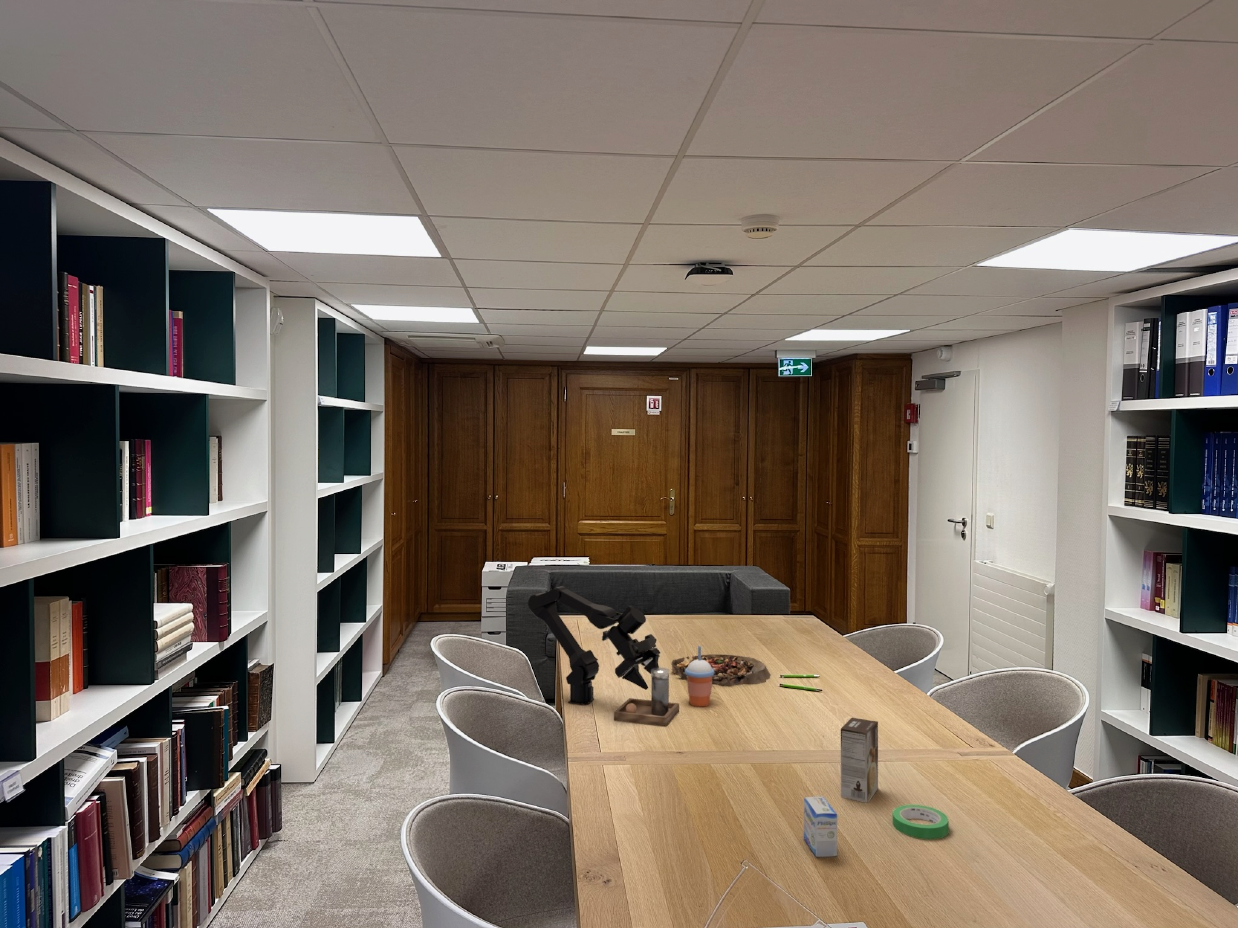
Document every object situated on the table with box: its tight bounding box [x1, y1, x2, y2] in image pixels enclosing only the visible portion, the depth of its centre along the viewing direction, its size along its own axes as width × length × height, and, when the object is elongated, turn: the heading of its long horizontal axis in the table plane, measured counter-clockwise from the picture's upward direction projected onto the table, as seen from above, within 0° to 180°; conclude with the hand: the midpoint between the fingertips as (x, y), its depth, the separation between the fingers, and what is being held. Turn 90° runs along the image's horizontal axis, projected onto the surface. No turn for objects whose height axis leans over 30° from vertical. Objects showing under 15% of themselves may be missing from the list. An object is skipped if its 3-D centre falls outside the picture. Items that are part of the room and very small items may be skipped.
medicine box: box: [803, 796, 838, 858], centre depth 162 cm, size 8×4×9 cm, turn 5°
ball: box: [626, 703, 637, 713], centre depth 240 cm, size 3×3×3 cm
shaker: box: [650, 667, 670, 716], centre depth 241 cm, size 5×5×13 cm
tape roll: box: [892, 804, 950, 840], centre depth 171 cm, size 11×11×3 cm
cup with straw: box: [685, 645, 714, 707], centre depth 253 cm, size 9×9×18 cm
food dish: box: [670, 653, 772, 687], centre depth 287 cm, size 35×33×8 cm
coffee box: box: [840, 717, 879, 804], centre depth 187 cm, size 9×6×16 cm
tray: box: [613, 697, 680, 727], centre depth 242 cm, size 16×14×2 cm
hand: (654, 684), depth 242 cm, fingers open, 9 cm apart
